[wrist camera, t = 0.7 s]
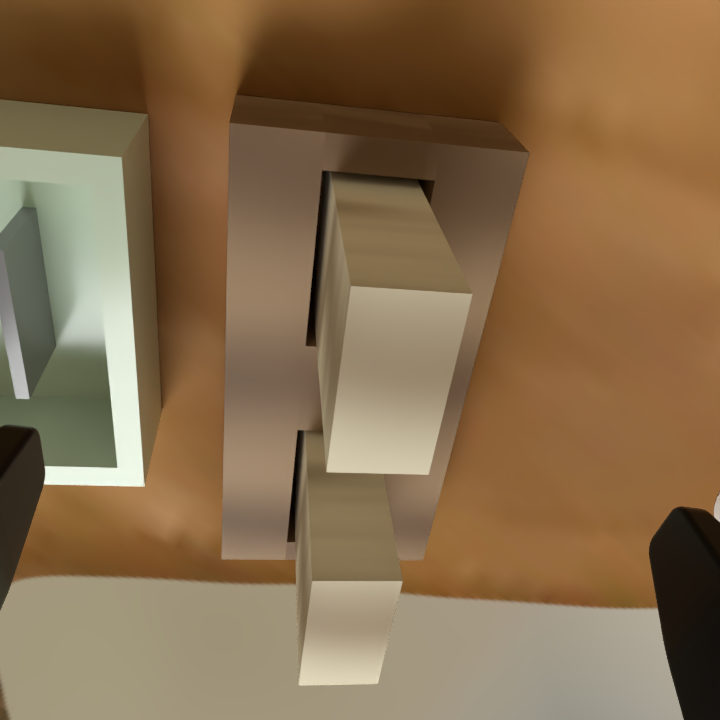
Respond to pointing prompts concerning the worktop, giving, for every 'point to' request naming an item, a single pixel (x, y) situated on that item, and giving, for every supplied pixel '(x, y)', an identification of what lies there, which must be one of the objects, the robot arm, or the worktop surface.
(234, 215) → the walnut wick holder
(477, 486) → the worktop surface
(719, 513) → the cylindrical container
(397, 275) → the block
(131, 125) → the green open tray
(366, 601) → the block
